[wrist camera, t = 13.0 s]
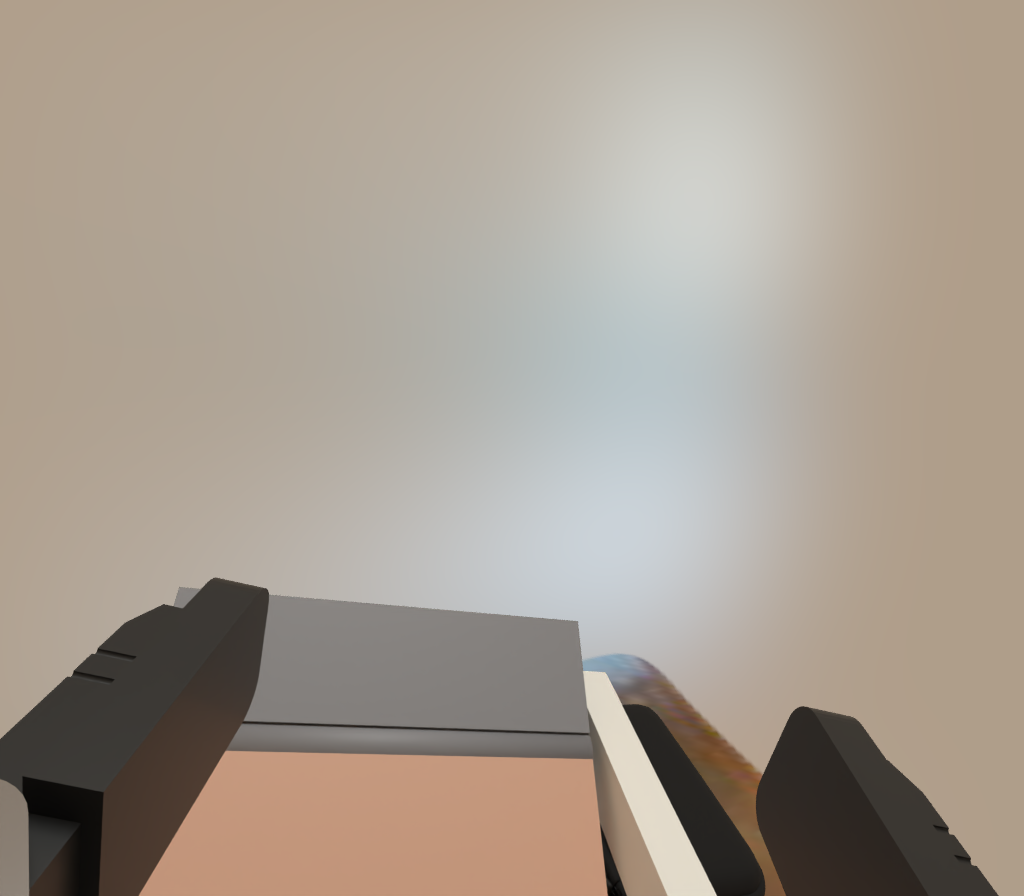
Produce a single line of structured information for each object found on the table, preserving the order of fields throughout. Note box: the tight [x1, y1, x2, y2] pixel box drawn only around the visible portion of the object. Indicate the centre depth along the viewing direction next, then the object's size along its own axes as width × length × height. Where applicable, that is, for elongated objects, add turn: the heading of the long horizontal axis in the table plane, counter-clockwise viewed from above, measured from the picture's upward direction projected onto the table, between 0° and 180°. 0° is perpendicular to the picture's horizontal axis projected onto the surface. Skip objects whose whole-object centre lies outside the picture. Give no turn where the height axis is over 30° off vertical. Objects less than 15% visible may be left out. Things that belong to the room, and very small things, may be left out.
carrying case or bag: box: [600, 704, 765, 896], centre depth 39 cm, size 11×3×15 cm
